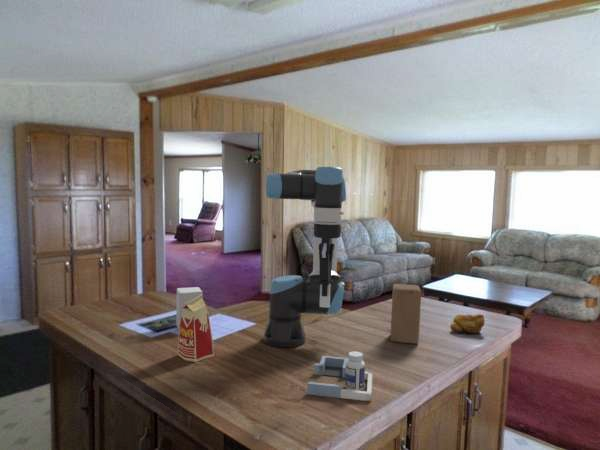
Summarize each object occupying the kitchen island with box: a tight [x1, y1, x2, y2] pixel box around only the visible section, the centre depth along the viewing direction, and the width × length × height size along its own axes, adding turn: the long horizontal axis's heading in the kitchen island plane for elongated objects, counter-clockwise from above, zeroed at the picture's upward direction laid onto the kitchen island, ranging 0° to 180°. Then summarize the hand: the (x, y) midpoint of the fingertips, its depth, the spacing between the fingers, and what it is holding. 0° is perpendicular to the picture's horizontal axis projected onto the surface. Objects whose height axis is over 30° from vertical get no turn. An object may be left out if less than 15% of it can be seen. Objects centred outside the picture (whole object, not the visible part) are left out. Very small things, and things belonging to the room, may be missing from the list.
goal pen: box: [340, 371, 373, 402], centre depth 127 cm, size 8×14×2 cm, turn 170°
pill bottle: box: [344, 350, 366, 391], centre depth 126 cm, size 5×5×10 cm
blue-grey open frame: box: [306, 355, 349, 399], centre depth 131 cm, size 10×21×3 cm, turn 170°
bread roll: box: [450, 313, 486, 335], centre depth 181 cm, size 13×10×8 cm
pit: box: [322, 366, 343, 378], centre depth 137 cm, size 6×7×1 cm
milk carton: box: [177, 294, 215, 363], centre depth 146 cm, size 9×9×20 cm
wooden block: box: [390, 283, 422, 345], centre depth 168 cm, size 10×10×20 cm
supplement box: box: [175, 286, 204, 331], centre depth 175 cm, size 9×9×15 cm
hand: (324, 306), depth 127 cm, fingers closed
